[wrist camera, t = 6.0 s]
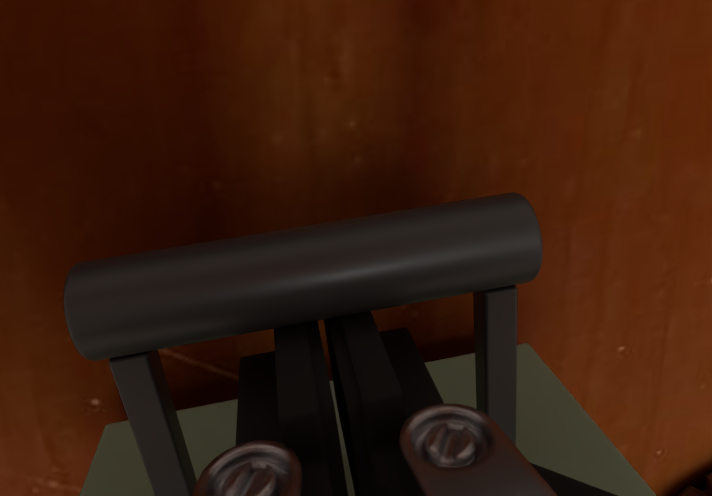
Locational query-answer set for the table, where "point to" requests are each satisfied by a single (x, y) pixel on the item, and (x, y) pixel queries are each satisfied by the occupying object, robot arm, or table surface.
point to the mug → (695, 495)
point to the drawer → (317, 302)
